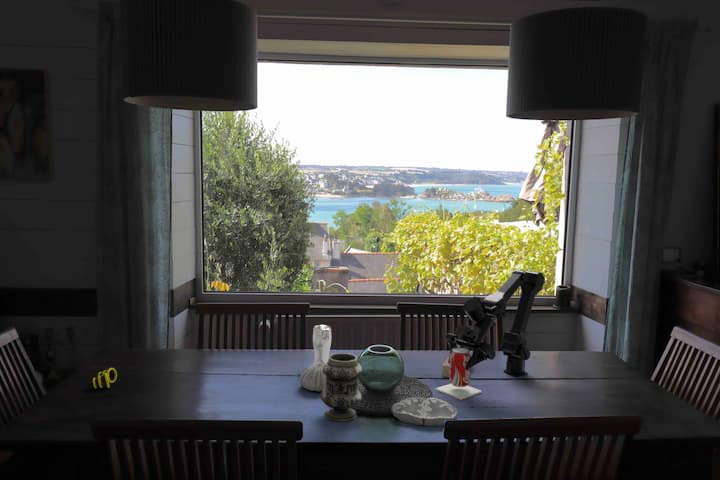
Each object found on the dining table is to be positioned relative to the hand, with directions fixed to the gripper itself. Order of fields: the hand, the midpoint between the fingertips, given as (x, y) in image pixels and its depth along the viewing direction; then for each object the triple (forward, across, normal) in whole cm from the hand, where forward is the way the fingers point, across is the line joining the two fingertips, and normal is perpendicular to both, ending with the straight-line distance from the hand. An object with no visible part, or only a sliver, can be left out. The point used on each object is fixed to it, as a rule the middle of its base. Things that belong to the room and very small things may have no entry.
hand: (457, 366), depth 193 cm
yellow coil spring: (+70, -76, -59) cm, 119 cm away
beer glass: (+21, -49, -8) cm, 54 cm away
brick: (-5, -15, +19) cm, 25 cm away
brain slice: (+23, +7, -10) cm, 26 cm away
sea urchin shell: (+31, -31, -18) cm, 47 cm away
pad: (+6, 0, +7) cm, 9 cm away
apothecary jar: (+37, -8, -24) cm, 45 cm away
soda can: (+4, 0, +6) cm, 7 cm away
